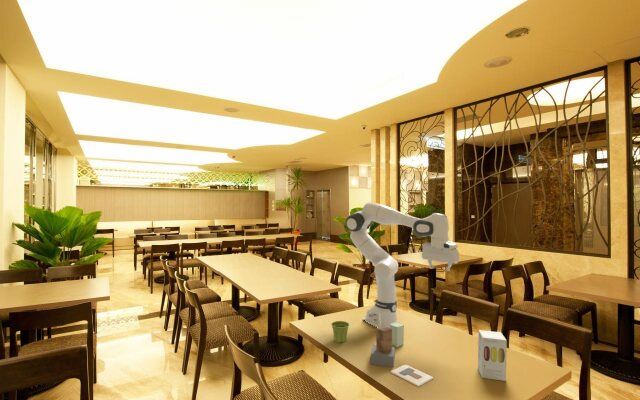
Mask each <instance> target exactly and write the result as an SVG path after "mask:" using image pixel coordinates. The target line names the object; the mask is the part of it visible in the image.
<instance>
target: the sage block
mask: <svg viewBox="0 0 640 400" xmlns="http://www.w3.org/2000/svg"><path fill="white" fill-rule="evenodd" d="M390 329H392V347H396V348H399V347H401V346H403V345H404V344H405V343H404V335H405V334H404V333H405V331H404V329H405V328H404V324H401V323H399V322H398V323H396V322H395V323H392V324H390Z"/></svg>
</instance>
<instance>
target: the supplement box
mask: <svg viewBox="0 0 640 400" xmlns="http://www.w3.org/2000/svg"><path fill="white" fill-rule="evenodd" d="M477 337H478V342H477V344H478V345H477V346H478V348H477V352H478V353H477V369H478V372H479V374H480V376H481V378H483V379H489V380H498V381H503V382H506V381H507V351H508V349H507V343H508V341H507V339H506V337H505V336H504V335H503V333H502V332H500V331H491V330H481V329H479V330H478V336H477Z"/></svg>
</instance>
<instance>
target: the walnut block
mask: <svg viewBox="0 0 640 400" xmlns="http://www.w3.org/2000/svg"><path fill="white" fill-rule="evenodd" d="M375 328H376V327H375ZM375 332H376V333H375V334H376V335H375V336H376V339H375V340H376V343H375V345H376V350H378V351H380V352H382V353H383V354H385V353H388V352H391V351H392V347H393V345H392V329H390V328H388V327H386V326H382V327H378V328H376V330H375Z"/></svg>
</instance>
